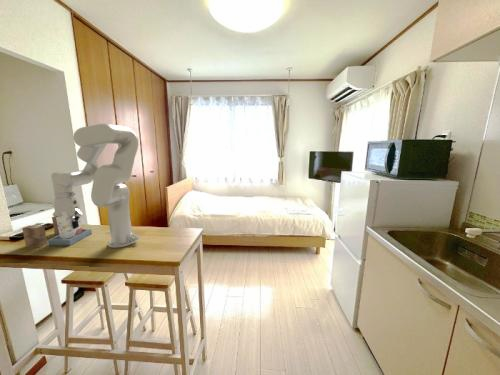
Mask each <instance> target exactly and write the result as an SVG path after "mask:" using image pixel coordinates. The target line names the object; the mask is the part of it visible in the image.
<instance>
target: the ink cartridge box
mask: <svg viewBox="0 0 500 375" xmlns="http://www.w3.org/2000/svg"><path fill="white" fill-rule="evenodd" d="M76 214H77V213H76ZM62 215H63V216H58V217H56V220H57V225H58V230H59V234H58V235H60V238H66V239H68V238H70V237H73V236H75V235H77V234H80V233H82V229H83V228H82V222H81V217H80V218H79V220H78V224H79V227H77V228H75V229H73V226H72V222H73V220H72V218H71V217H70V216H68V214H67V212H66V211H63V212H62ZM77 216H78V214H77ZM74 218H75V216H74Z"/></svg>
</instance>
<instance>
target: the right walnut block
mask: <svg viewBox="0 0 500 375" xmlns="http://www.w3.org/2000/svg"><path fill="white" fill-rule="evenodd" d="M51 221H52V226H53V230H54V231H53V232H54V234H56V235H57V234H58V235H59V230H58V225H57V220H56V217H54V216H52V217H51Z"/></svg>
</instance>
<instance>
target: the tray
mask: <svg viewBox="0 0 500 375" xmlns="http://www.w3.org/2000/svg"><path fill="white" fill-rule="evenodd" d="M92 231H93V230H92V228H82V233H80V234H77V235H75V236H73V237H70V238H68V239H66V238H60V235H59V234H58V235H56V236H53V237H51V238H49V239H47V245H48V246H50V247H51V246H53V247H54V246H55V247H57V246H58V247H59V246H60V247H61V246H62V247H63V246H73V245H75V244H76V243H77V242H80V241H81V240H84V239H85V238H88V237H89V236H90V235H92V234H93V232H92Z"/></svg>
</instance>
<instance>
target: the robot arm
mask: <svg viewBox="0 0 500 375" xmlns="http://www.w3.org/2000/svg"><path fill="white" fill-rule="evenodd" d="M72 138H73V141H74V143H75V144H76V146H79V149H78V150H77V152H76V155H77V157H78V159H79V160H81V161H82V162H85V163H86V164H85V166H84V168H83V169H82V170H74V171H66V170H64V171H63V170H62V171H53V172H52V173H51V174H50V177H51V183H52V188H53V193H54V198H53V199H54V200H53V206H54V212H53V213H52V217H58V216H63V215H62V212H63V211H66V212H67V214H68V216H70V217H71V218H72V220H73V222H72V226H73V229H75V228H77V227H79V224H78V220H79V218H80V219H81V217H82V216H83V215H84V213H82V211H81V208H80V203H79V201H78V198H77V196H75V195H76V193H75V192H74V187H77V186H83V185H88V184H91V183H92V182H93V183H92V188H91V192H90V198H91V201H92V203H93V204H94V205H95V206H96V207H99V208H106V207H108V208H107V219H108V227H109V233H110V240H109V241H108V243H107V246H108V247H109V248H113V249H115V248H116V249H118V248H124V247H127V246H130V245H132V244H134V243H135V242H137V241H139V240H140V235H139V234H135V232H132V231H133V230H132V222H131V220H132V219H131V211H130V196H131V191H130V189H129V187H128V186H127V185H126V184H124V183H126V182H128V181H129V180H130V179H131V176H132V172H133V168H134V164H135V159H136V155H137V152H138V149H139V138H138V136H137V134H136V133H135V131H134V130H132V129H131V128H130V127H127V126H124V125H119V124H110V123H97V124H92V125H88V126H82V127H79V128H78V129H76V130H75V131H74V133H73V136H72ZM108 144H114V145H115V144H119V146H118V147H117V149H116V151H115V152H114V156H113V159H112V160H113V161H112V163H110V164H108V163H107V164H103V165H101V166H100V165H99V163H98V160H99V159H100V157H101V155H102V153H103V151H104V150H105V148H106V146H107V145H108ZM76 213H77V214H78V216H77V214H76ZM74 216H75V218H74Z"/></svg>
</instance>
